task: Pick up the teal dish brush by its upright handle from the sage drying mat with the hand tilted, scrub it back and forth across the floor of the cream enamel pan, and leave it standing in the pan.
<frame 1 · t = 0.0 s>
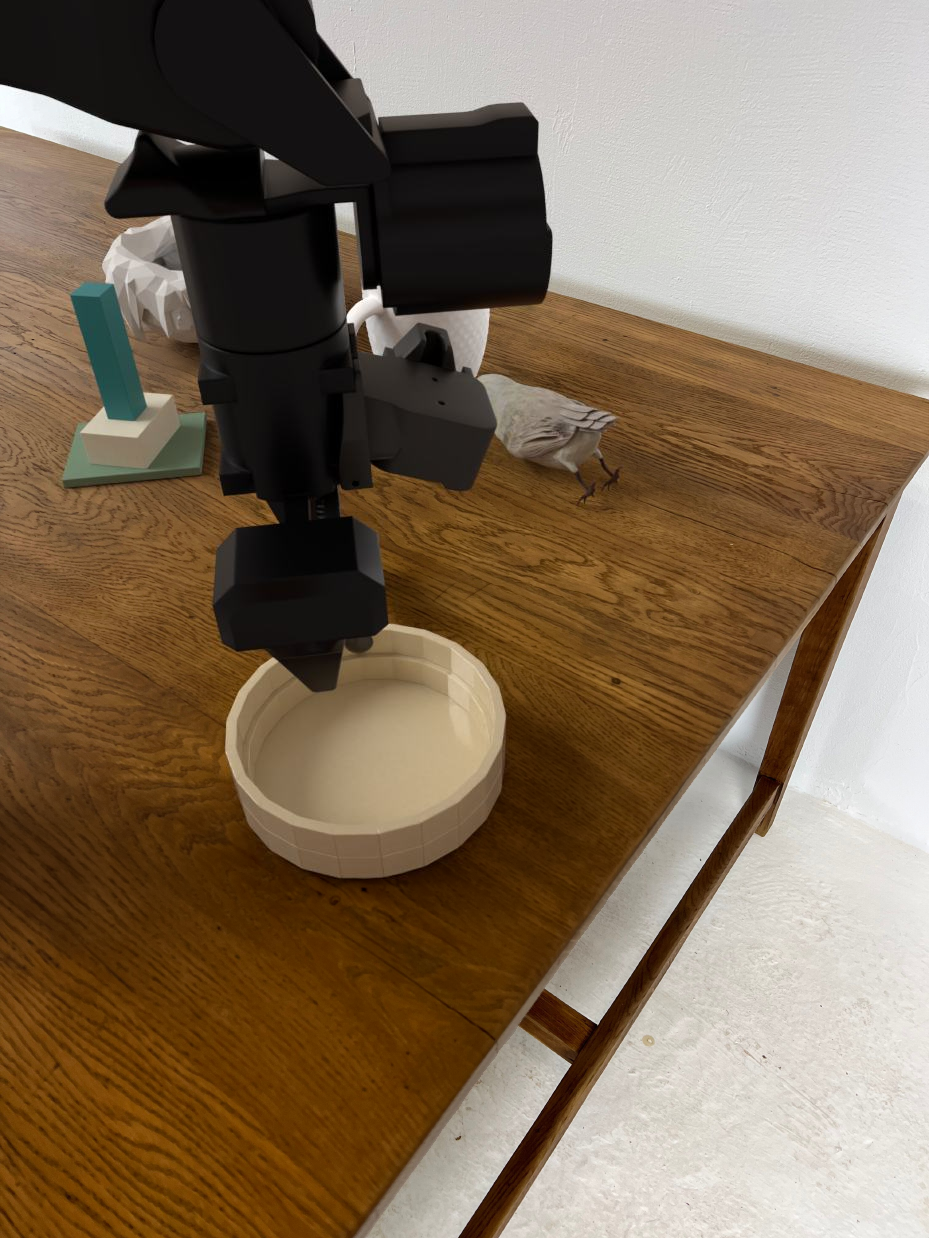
hand: (320, 622, 46), 12 cm above the table, tool pointing down, fingers open, 9 cm apart
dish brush: (136, 444, 79), point 1 cm above the table, touching drying mat
pan: (372, 769, 54), on the table
drying mat: (139, 452, 80), on the table
mug: (421, 397, 87), on the table
bowl: (220, 333, 97), on the table
pan handle: (358, 629, 63), on the table
decorative bird: (535, 465, 78), on the table
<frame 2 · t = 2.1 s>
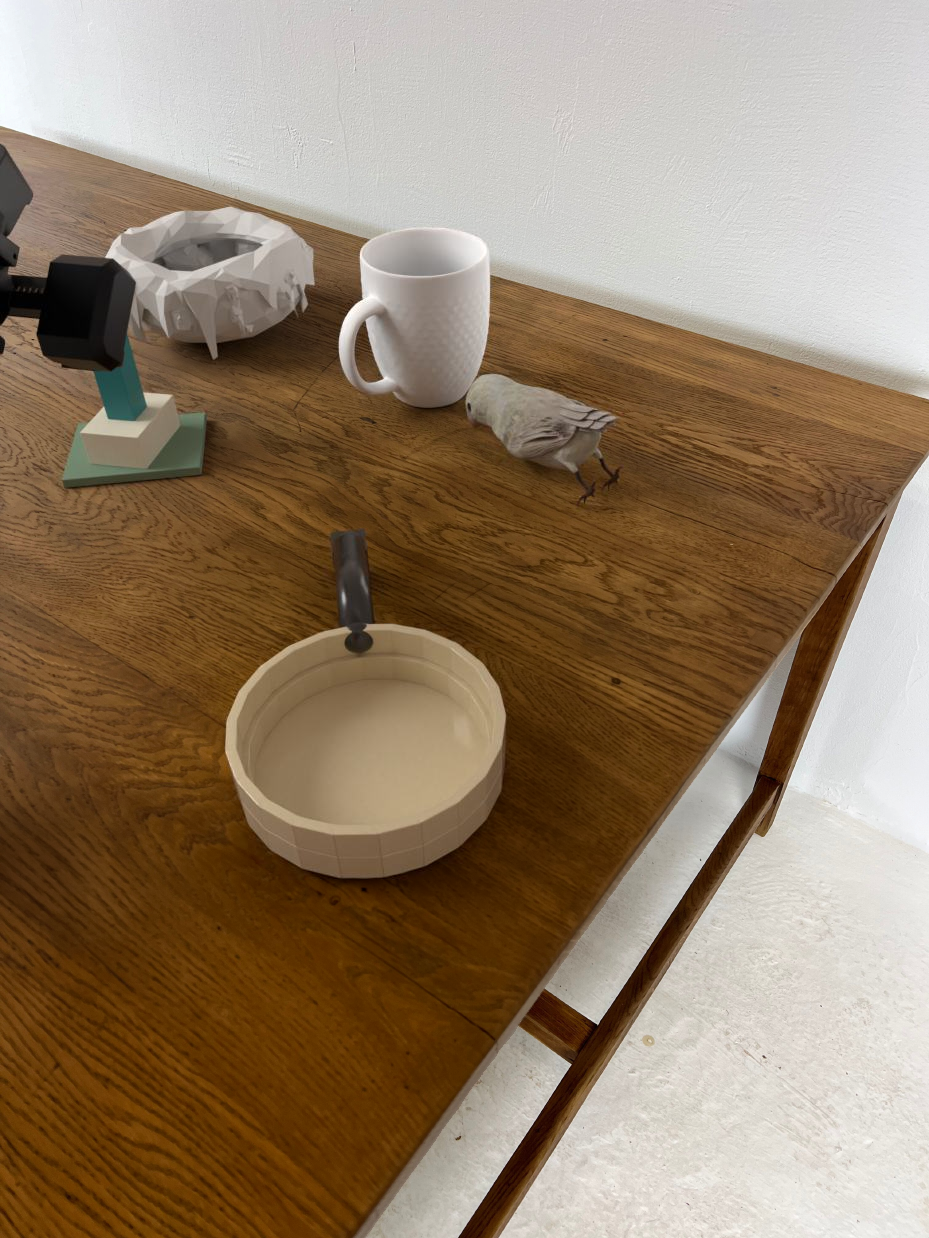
hand: (61, 353, 65), 13 cm above the table, tool tilted 45°, fingers open, 9 cm apart
nothing on the table moved.
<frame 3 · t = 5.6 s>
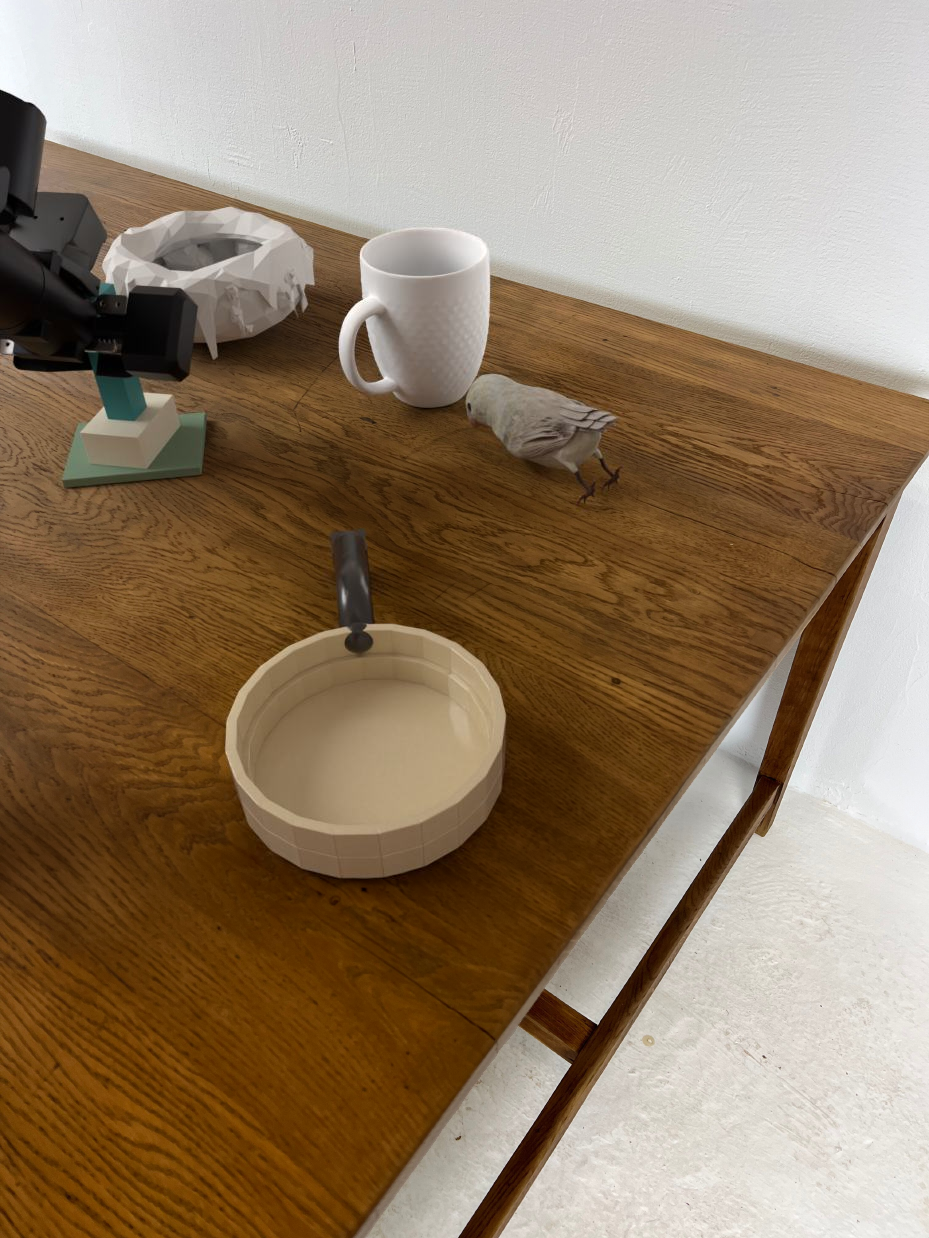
hand: (123, 364, 76), 7 cm above the table, tool tilted 45°, fingers closed on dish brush, 2 cm apart
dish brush: (136, 444, 79), point 1 cm above the table, touching drying mat, gripper
everything else where it was.
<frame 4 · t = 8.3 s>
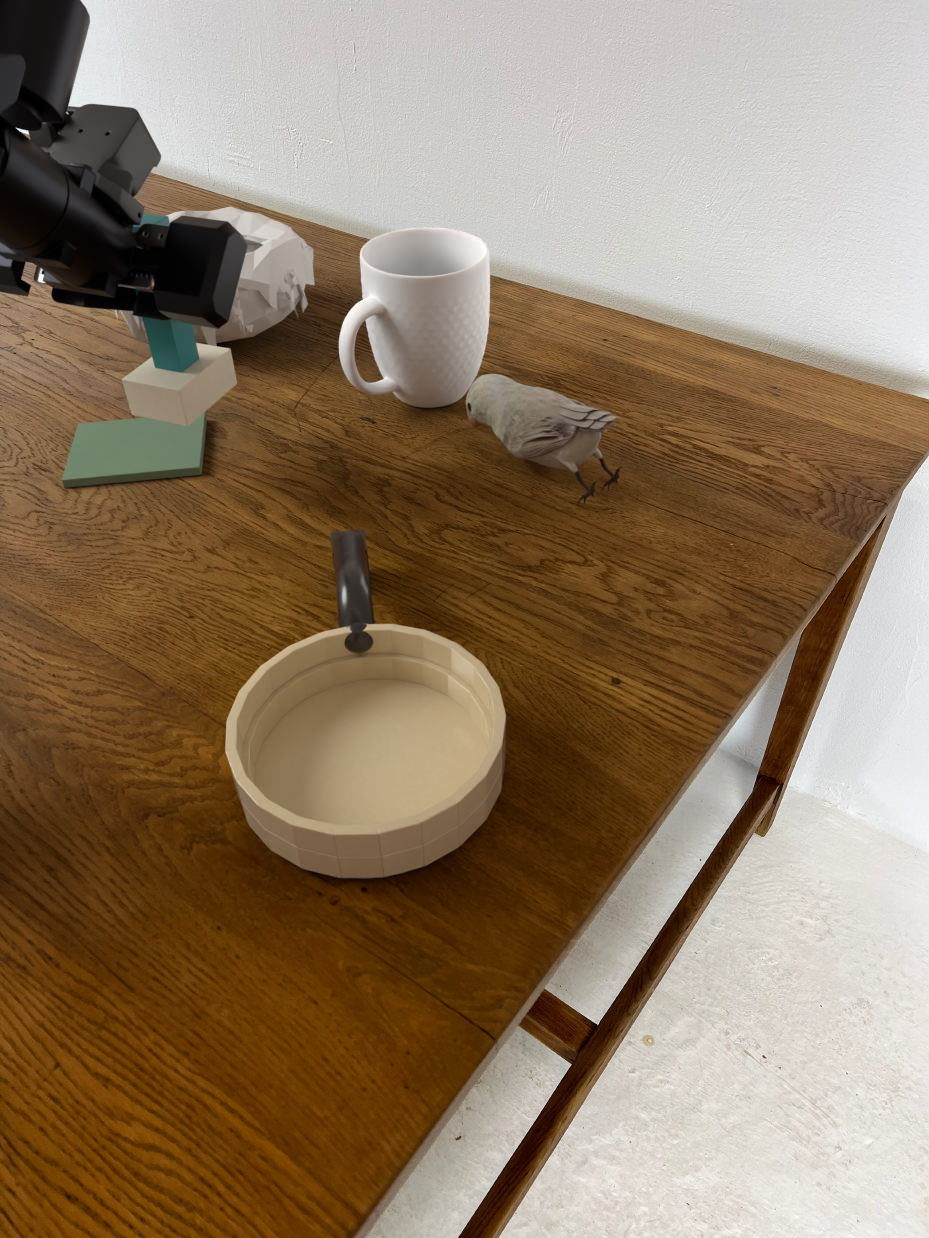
hand: (177, 309, 69), 14 cm above the table, tool tilted 45°, fingers closed on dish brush, 2 cm apart
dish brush: (185, 399, 72), point 7 cm above the table, touching gripper
everything else where it was.
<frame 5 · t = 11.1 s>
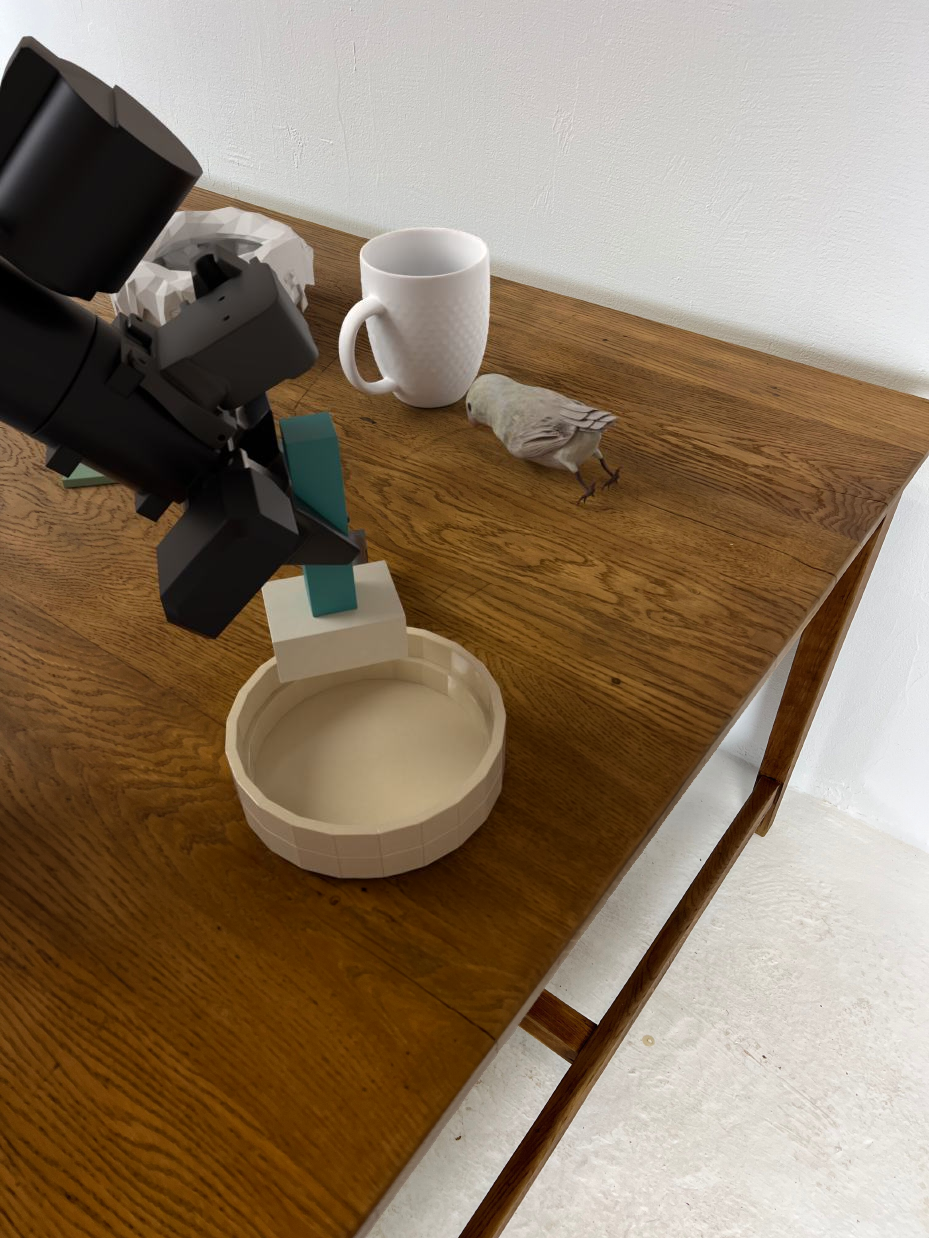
hand: (349, 540, 48), 14 cm above the table, tool tilted 45°, fingers closed on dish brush, 2 cm apart
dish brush: (337, 639, 52), point 7 cm above the table, touching gripper
everything else where it was.
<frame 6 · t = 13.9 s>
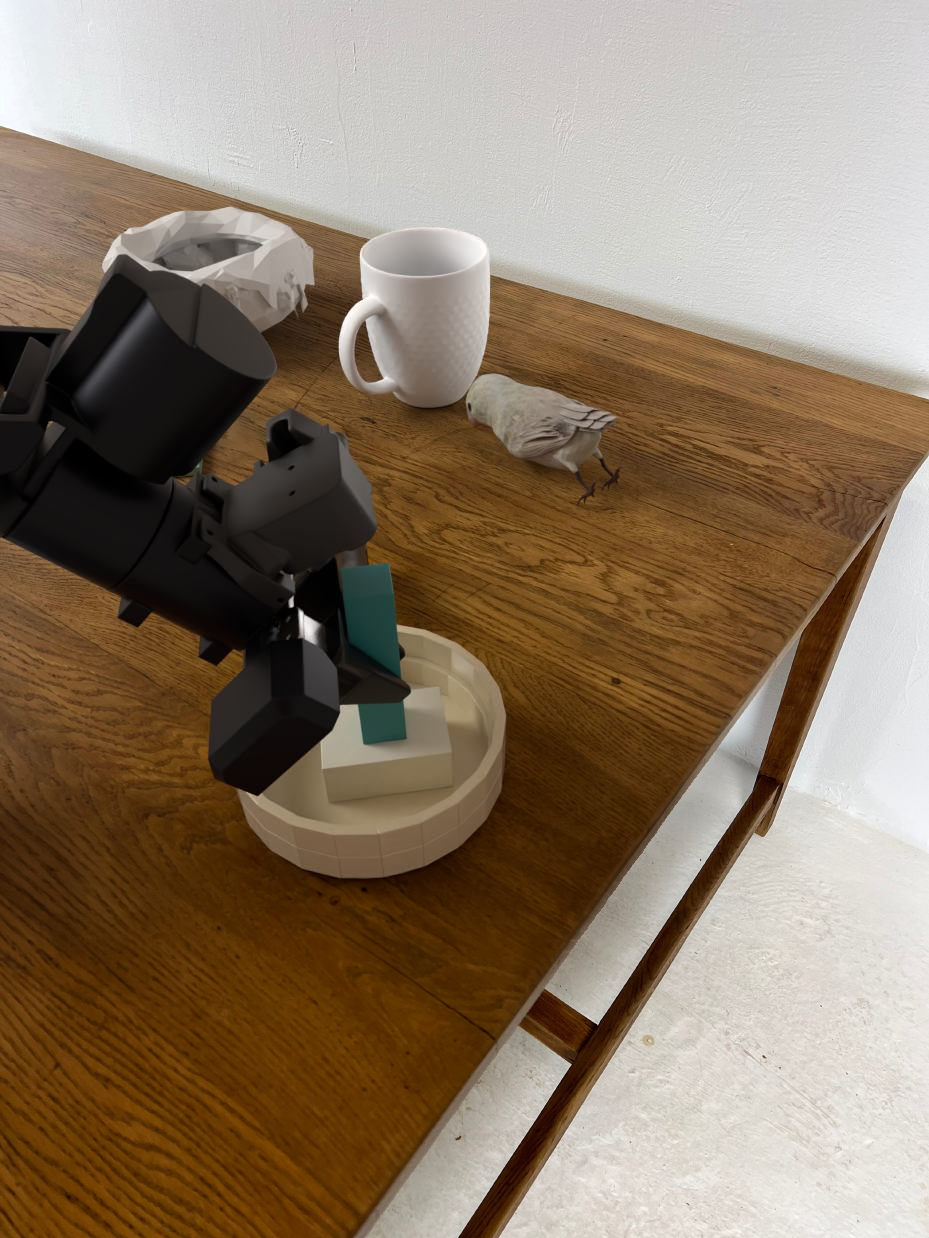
hand: (402, 676, 50), 7 cm above the table, tool tilted 45°, fingers closed on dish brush, 2 cm apart
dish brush: (387, 760, 54), point 1 cm above the table, touching gripper
everything else where it was.
when the fingers open (7 cm above the table, at t = 16.6 s): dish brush stays where it is, resting on pan.
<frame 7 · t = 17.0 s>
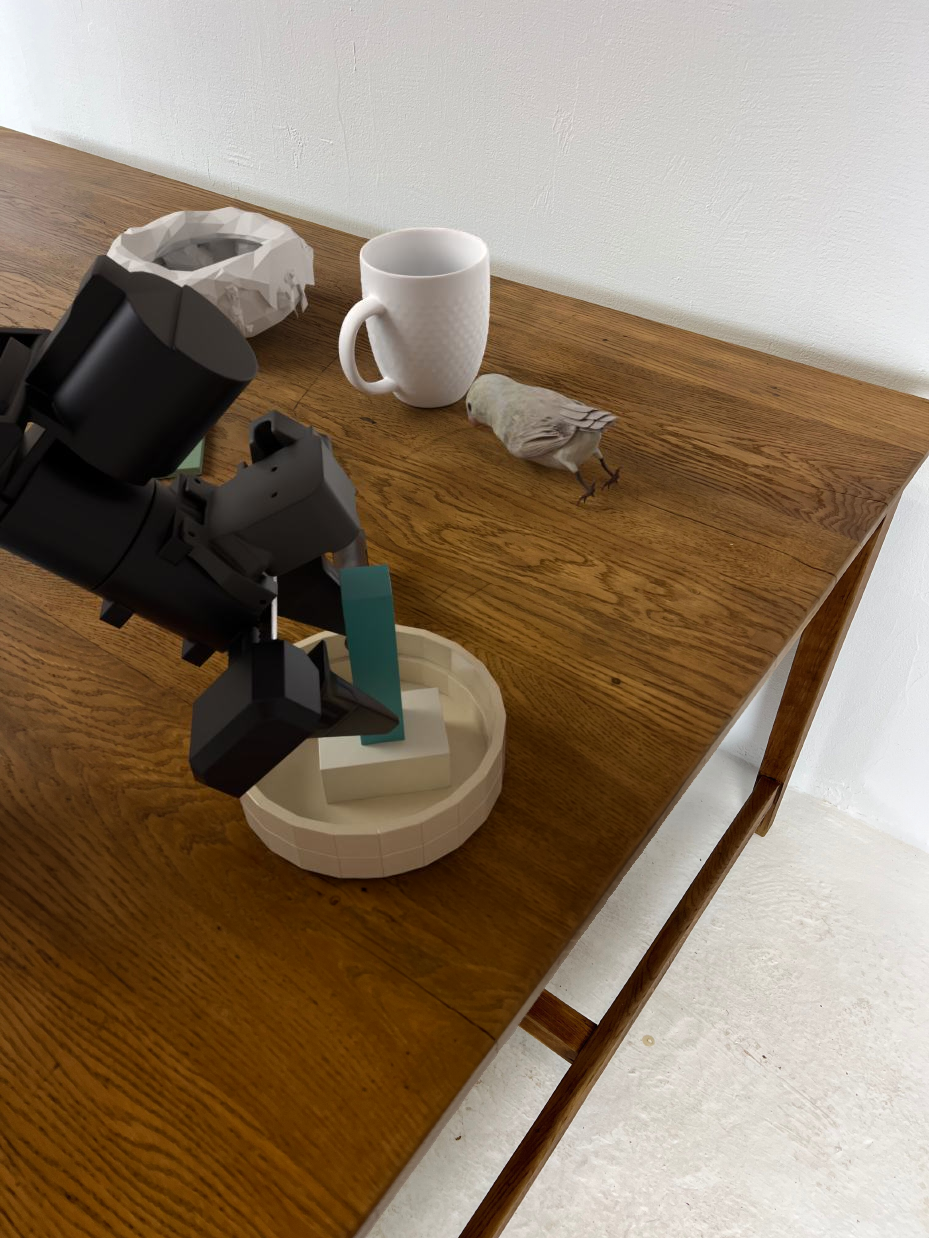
hand: (388, 678, 50), 7 cm above the table, tool tilted 45°, fingers open, 6 cm apart
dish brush: (385, 760, 54), point 1 cm above the table, touching pan
everything else where it was.
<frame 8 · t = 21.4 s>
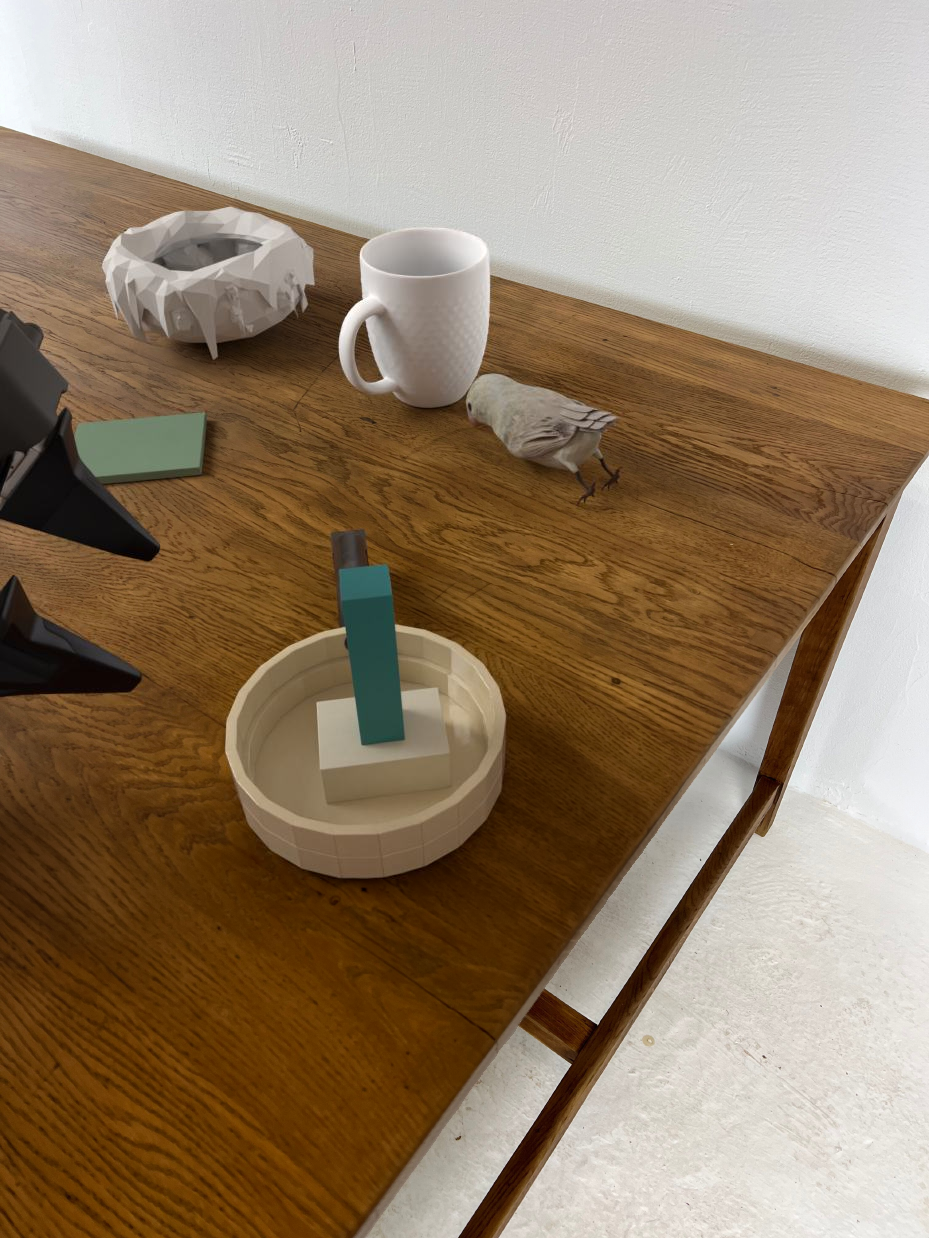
hand: (147, 613, 44), 14 cm above the table, tool tilted 45°, fingers open, 9 cm apart
nothing on the table moved.
at the end: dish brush inside the target area in the pan (0.8 cm from its centre), point 0.6 cm above the pan's base; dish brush tilted 0°; the gripper is holding nothing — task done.
